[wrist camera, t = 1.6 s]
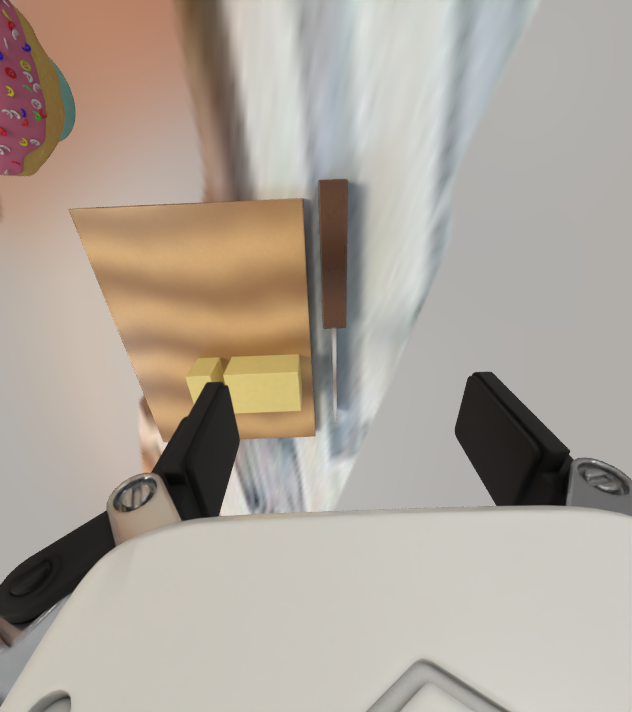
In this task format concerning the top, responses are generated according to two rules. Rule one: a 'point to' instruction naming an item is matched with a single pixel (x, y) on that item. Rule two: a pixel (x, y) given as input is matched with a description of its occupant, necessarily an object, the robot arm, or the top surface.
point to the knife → (333, 263)
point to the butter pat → (204, 375)
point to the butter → (264, 383)
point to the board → (205, 296)
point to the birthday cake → (29, 98)
